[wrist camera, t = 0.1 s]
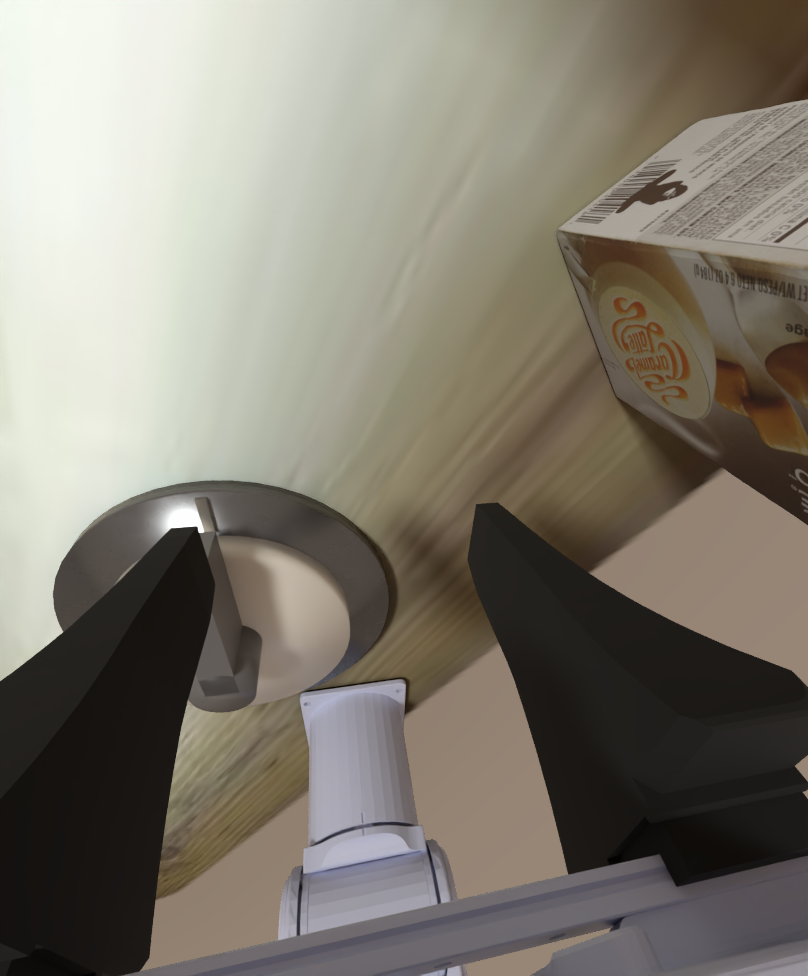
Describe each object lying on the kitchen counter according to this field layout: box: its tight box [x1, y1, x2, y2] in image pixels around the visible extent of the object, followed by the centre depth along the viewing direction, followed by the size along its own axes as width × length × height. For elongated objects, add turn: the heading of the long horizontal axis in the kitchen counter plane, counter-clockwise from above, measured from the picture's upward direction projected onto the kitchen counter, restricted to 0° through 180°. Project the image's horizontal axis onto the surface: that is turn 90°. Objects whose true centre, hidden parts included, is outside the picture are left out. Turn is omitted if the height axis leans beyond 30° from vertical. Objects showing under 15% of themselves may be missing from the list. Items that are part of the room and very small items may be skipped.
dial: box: [115, 531, 350, 712], centre depth 23 cm, size 14×13×5 cm
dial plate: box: [53, 481, 389, 691], centre depth 25 cm, size 18×18×1 cm
